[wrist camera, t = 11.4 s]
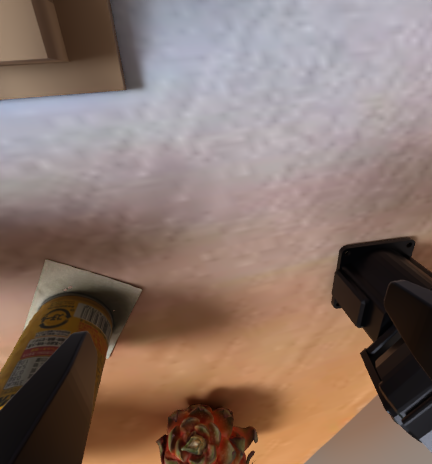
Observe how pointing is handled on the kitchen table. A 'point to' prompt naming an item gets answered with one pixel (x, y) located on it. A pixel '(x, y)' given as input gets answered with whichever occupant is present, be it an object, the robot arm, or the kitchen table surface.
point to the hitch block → (58, 48)
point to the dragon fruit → (205, 438)
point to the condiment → (67, 321)
